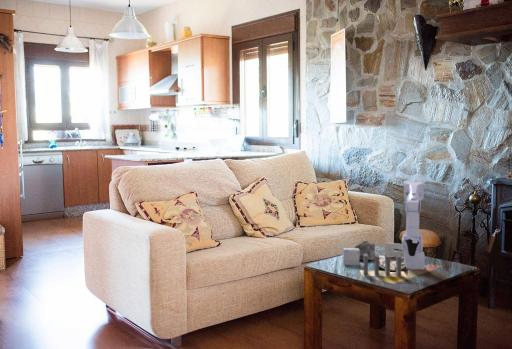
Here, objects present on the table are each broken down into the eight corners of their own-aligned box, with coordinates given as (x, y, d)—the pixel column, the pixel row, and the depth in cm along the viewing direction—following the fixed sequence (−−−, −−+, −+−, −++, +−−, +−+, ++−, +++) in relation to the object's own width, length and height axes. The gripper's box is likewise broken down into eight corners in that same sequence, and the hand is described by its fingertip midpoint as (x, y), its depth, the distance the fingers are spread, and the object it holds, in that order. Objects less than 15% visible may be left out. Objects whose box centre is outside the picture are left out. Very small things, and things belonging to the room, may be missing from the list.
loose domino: (399, 273, 247) (399, 254, 246) (401, 276, 242) (401, 257, 241) (395, 273, 247) (396, 254, 246) (397, 276, 242) (397, 257, 241)
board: (403, 273, 250) (403, 271, 250) (407, 279, 241) (407, 277, 241) (359, 272, 252) (359, 270, 252) (361, 277, 243) (361, 275, 243)
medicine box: (358, 265, 265) (358, 248, 264) (359, 267, 261) (359, 250, 260) (342, 264, 266) (342, 247, 265) (343, 267, 262) (343, 249, 261)
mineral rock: (347, 260, 274) (348, 241, 273) (353, 255, 284) (353, 237, 283) (372, 263, 269) (373, 243, 268) (377, 258, 278) (377, 239, 277)
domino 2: (388, 273, 247) (388, 254, 246) (389, 276, 242) (390, 256, 241) (384, 273, 247) (385, 254, 246) (386, 276, 242) (386, 256, 241)
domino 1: (377, 272, 248) (377, 254, 247) (378, 275, 243) (379, 256, 242) (373, 272, 248) (374, 253, 247) (375, 275, 243) (375, 256, 242)
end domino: (366, 272, 248) (367, 253, 247) (367, 275, 243) (368, 256, 242) (363, 272, 248) (363, 253, 247) (364, 275, 243) (364, 256, 243)
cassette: (408, 258, 278) (408, 244, 277) (407, 259, 276) (407, 245, 275) (385, 256, 283) (385, 242, 282) (384, 257, 281) (384, 242, 280)
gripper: (401, 223, 249) (400, 251, 250) (406, 228, 234) (405, 259, 235) (416, 223, 248) (415, 252, 249) (422, 229, 234) (421, 259, 235)
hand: (411, 255), depth 242 cm, fingers closed
